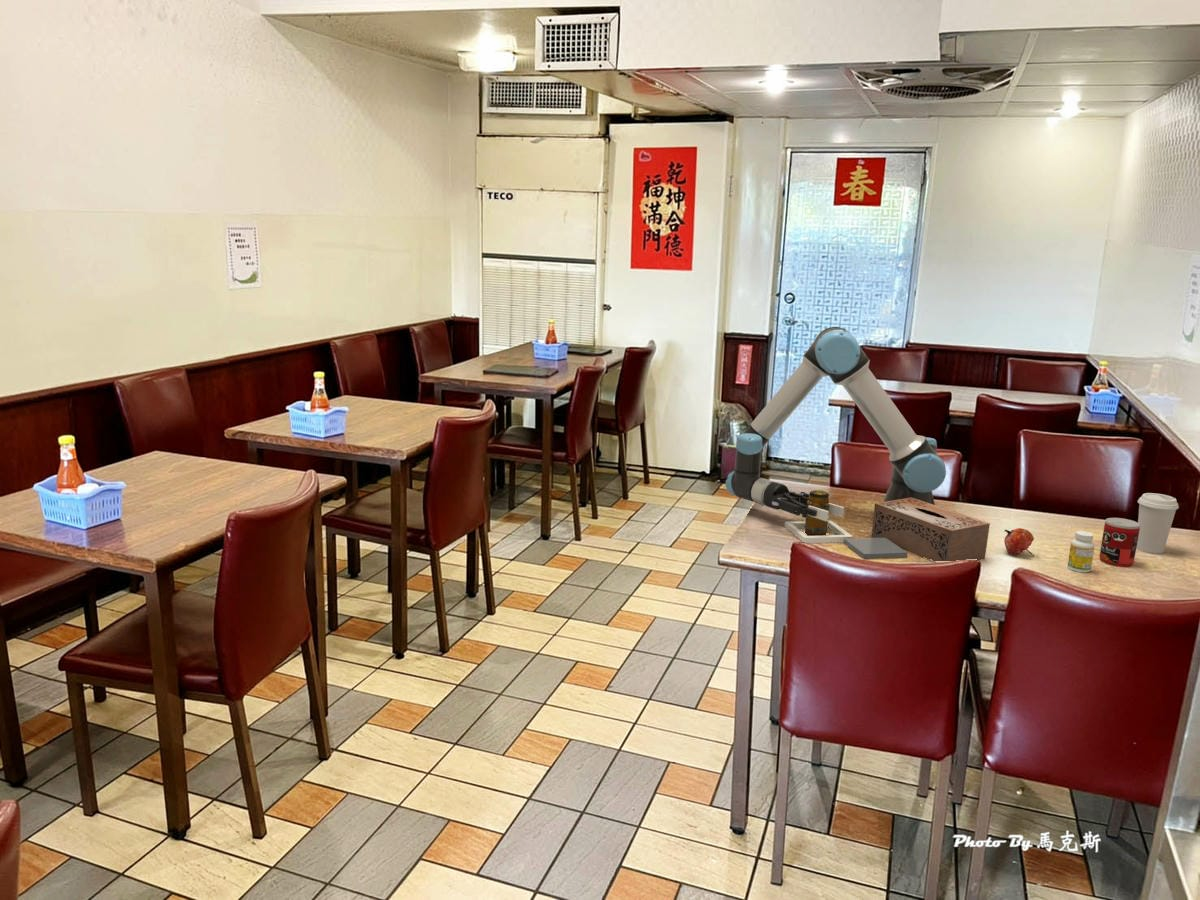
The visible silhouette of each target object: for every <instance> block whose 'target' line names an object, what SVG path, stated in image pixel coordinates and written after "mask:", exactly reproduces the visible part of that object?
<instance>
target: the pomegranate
mask: <svg viewBox="0 0 1200 900" xmlns="http://www.w3.org/2000/svg"><path fill="white" fill-rule="evenodd" d="M1003 532H1004V533H1005V532H1006V533H1007V534H1005V537H1004V540H1003V541H1004V547H1005V550H1006V551H1007V552H1008V553H1009V554H1010V555H1013V556H1021V555H1022V554H1023V552H1024V551H1027V552H1028V553H1029V554H1030V555H1032V556H1033V557H1035V555H1034V554H1033V553H1032V552H1031V551H1030V550H1029V548H1030V546H1031V545H1032V543H1033V541H1034V540H1035V537H1034V535H1033V534H1032V533H1031V531H1029V530H1028V529H1025V528H1021V527H1020V528H1019V527H1018V528H1015V529H1012V530H1008V529H1004V531H1003Z"/></svg>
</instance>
